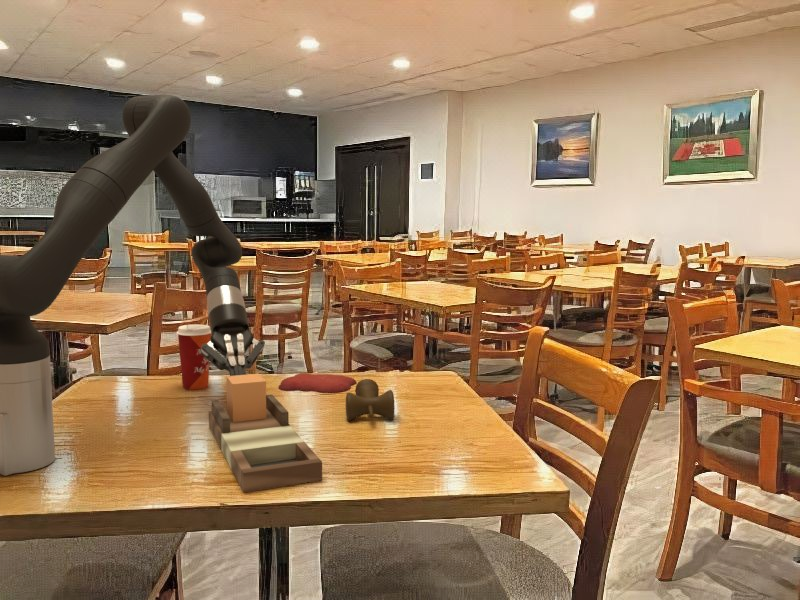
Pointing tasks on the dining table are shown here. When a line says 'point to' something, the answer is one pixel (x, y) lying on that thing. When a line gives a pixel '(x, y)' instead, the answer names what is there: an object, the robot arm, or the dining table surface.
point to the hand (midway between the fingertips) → (239, 385)
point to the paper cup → (193, 356)
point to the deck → (264, 449)
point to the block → (246, 397)
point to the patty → (317, 383)
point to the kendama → (369, 401)
